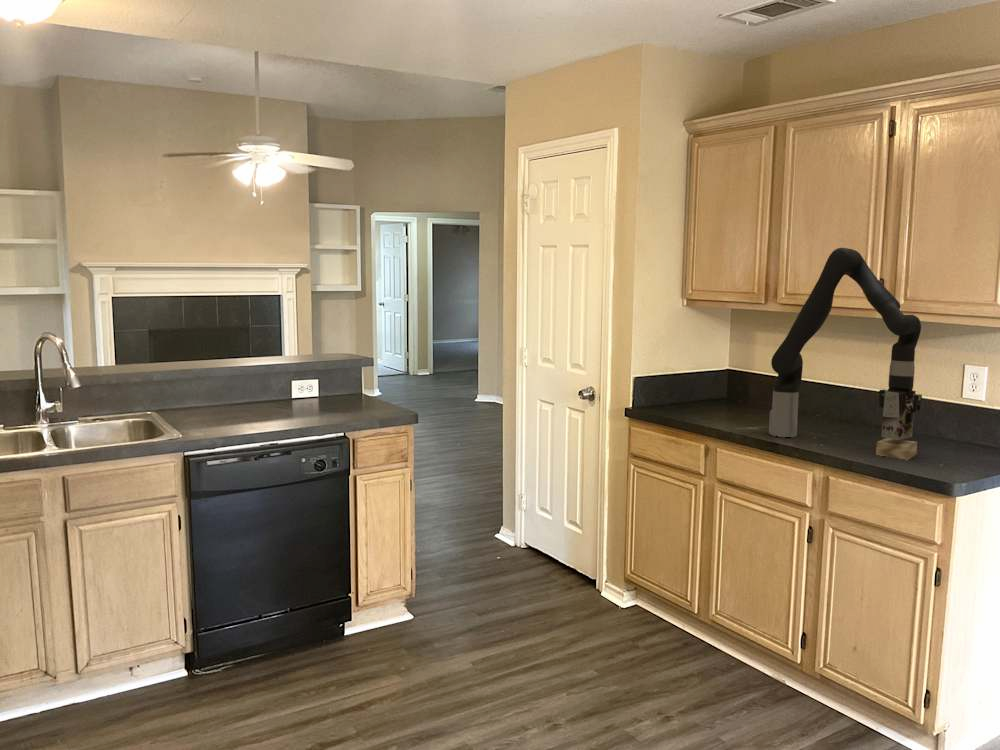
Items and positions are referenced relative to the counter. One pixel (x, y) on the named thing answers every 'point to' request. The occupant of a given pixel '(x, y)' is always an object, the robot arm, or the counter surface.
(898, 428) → the coffee box
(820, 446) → the counter surface
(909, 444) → the maple block
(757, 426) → the counter surface
